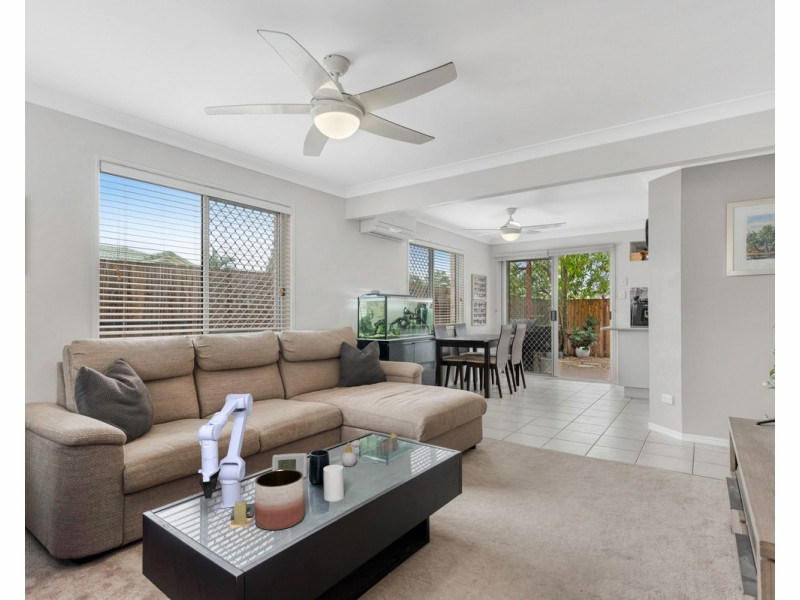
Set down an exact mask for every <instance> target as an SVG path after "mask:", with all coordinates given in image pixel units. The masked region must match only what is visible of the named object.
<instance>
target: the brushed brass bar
mask: <svg viewBox="0 0 800 600" xmlns="http://www.w3.org/2000/svg"><path fill="white" fill-rule="evenodd" d="M247 504H248V500H247V499H244V500H242V501H235V504H234V507H233V508H234V526H235V525H243V524H246V522H247V514H248V512H247Z"/></svg>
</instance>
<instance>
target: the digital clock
mask: <svg viewBox="0 0 800 600" xmlns="http://www.w3.org/2000/svg"><path fill="white" fill-rule="evenodd" d="M271 460H272V463H271V471H274V470H282V469H292V470H297V471H300V472H302V473H303V479H305V478H307V476H308V474H307V473H308V455H307V453H306V452H301V453H298V452H296V453H294V452H293V453H282V454H274V455H272V459H271Z"/></svg>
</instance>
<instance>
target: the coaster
mask: <svg viewBox="0 0 800 600" xmlns="http://www.w3.org/2000/svg"><path fill="white" fill-rule="evenodd" d="M251 523H252V518H247V522H246V524H243V525H235V526H234V520H232V521H231V520H230V524H229V529H236V528H244V527H251Z"/></svg>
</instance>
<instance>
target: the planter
mask: <svg viewBox="0 0 800 600" xmlns="http://www.w3.org/2000/svg"><path fill="white" fill-rule="evenodd" d="M304 484H305V483H304V478H303V473H302V472H300V471H297V470H292V469H282V470H274V471H272V470H271V471H268V472H264V473H262V474H260V475H258V476H257V477H256V478H255V479H254V503H255V512H254V520H255V521H254V522H255V525H257V527H259V528H261V529H263V530H266V531H267V530H268V531H269V530H270V531H278V530H284V529H288V528H291V527H293V526H296V525H298V523H300V522H301V521H302V520H303V519H304V518H305V509H306V508H305V488H304V487H305V486H304Z"/></svg>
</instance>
